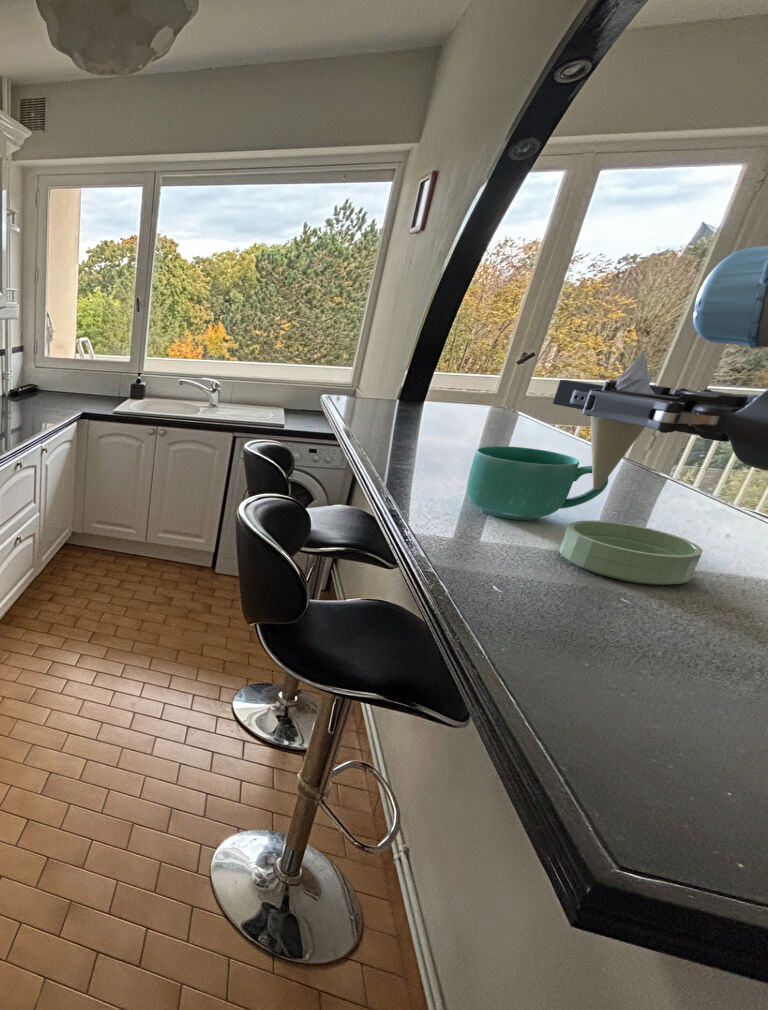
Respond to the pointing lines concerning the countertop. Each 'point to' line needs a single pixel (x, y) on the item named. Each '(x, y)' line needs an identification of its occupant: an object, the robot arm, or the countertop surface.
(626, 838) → the countertop surface
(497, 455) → the mug
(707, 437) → the robot arm
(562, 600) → the countertop surface
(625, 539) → the bowl
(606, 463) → the ice cream cone
